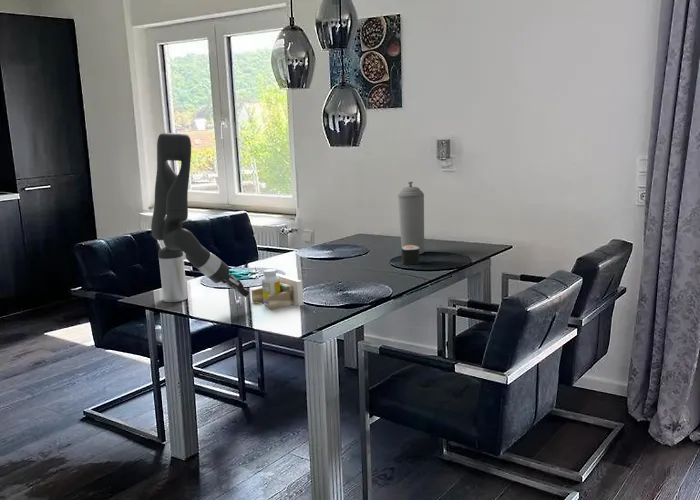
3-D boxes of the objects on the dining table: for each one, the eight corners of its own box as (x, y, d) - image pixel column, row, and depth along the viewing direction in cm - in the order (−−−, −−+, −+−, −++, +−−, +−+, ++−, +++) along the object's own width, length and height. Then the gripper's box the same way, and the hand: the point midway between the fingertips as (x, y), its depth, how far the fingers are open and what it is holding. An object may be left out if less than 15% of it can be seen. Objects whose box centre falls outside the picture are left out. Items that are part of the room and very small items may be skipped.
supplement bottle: (281, 300, 256) (278, 267, 253) (282, 305, 249) (279, 271, 247) (263, 302, 255) (260, 269, 253) (263, 307, 249) (261, 272, 246)
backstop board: (272, 295, 264) (270, 273, 262) (276, 294, 265) (275, 272, 263) (298, 305, 248) (297, 281, 246) (303, 304, 249) (301, 280, 247)
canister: (431, 252, 331) (429, 180, 324) (413, 256, 322) (411, 183, 316) (412, 249, 340) (409, 179, 333) (394, 254, 332) (391, 182, 325)
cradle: (252, 302, 256) (250, 284, 254) (275, 297, 261) (274, 279, 260) (270, 309, 244) (268, 290, 243) (294, 304, 250) (292, 285, 249)
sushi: (403, 265, 306) (402, 248, 304) (401, 261, 314) (400, 244, 312) (420, 264, 306) (420, 246, 304) (418, 260, 314) (417, 243, 313)
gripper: (227, 261, 232) (261, 289, 242) (210, 256, 243) (244, 283, 252) (214, 278, 230) (249, 306, 240) (198, 273, 241) (232, 299, 250)
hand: (246, 294), depth 246 cm, fingers closed
